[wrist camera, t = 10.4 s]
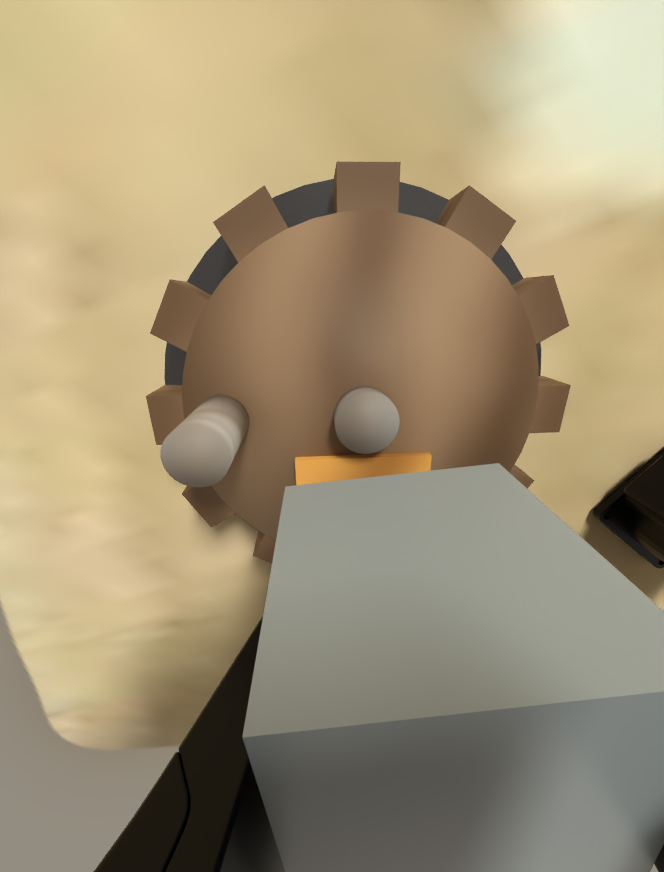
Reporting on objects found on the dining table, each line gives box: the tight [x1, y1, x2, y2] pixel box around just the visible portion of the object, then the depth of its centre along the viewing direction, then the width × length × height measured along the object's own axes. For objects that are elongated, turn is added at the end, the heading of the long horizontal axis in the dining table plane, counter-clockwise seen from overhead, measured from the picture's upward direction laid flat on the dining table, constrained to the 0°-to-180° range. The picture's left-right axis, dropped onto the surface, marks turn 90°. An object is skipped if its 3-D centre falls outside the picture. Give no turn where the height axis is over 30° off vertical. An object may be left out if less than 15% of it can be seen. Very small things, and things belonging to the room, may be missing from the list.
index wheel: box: [146, 162, 570, 563], centre depth 13 cm, size 17×17×6 cm
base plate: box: [165, 179, 541, 515], centre depth 16 cm, size 17×17×1 cm
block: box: [242, 463, 664, 872], centre depth 7 cm, size 5×5×5 cm
